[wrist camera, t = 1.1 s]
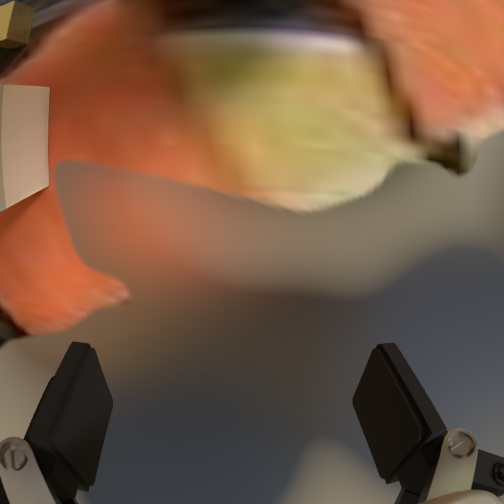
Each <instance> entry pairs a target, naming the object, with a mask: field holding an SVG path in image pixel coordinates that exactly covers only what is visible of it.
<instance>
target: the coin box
mask: <svg viewBox="0 0 504 504" xmlns="http://www.w3.org/2000/svg"><path fill="white" fill-rule="evenodd" d="M49 97H50V87H42V86H27V85H0V212H2V211H3V210H5V209H7V208H9V207H10V206H12V205H14V204H16V203H17V202H19V201H21V200H23V199H25V198H27V197H29V196H30V195H32V194H34V193H36V192H38V191H40V190H42V189H44V188H46V187H48V186H49V170H48V115H49Z"/></svg>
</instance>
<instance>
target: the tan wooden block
mask: <svg viewBox="0 0 504 504" xmlns="http://www.w3.org/2000/svg"><path fill="white" fill-rule="evenodd" d="M34 14H35V9H33V8H31V7H29V6H27V5H24V4H22V3H19V2H17V1H13V2H10V3H8V4H6V5H3V6H1V7H0V47H3V48H8V49H13V48H16V47H20V46H23V45H26V44H29V38H30V32H31V27H32V23H33V18H34Z"/></svg>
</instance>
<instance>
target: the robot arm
mask: <svg viewBox="0 0 504 504" xmlns="http://www.w3.org/2000/svg"><path fill="white" fill-rule="evenodd" d="M353 407H354V409H355V412H356V414H357V417H358V420H359V422H360V425H361V427H362V430H363V433H364V435H365V438H366V440H367V443H368V446H369V448H370V451H371V453H372V456H373V459H374V462H375V464H376V467H377V470H378V472H379V475H380V477H381V478H383V479H385V481H386V484H390V483H392V482H396V481H399V482H400V484H401V489H400V492H399V494H398V496H397V498H396V501H395V503H394V504H504V458H503V457H500V456H497V455H494V454H491V453H488V452H486V451H483V450H480V449H478V443H477V440H476V438H475V437H474V435H473V434H471V433H470V432H469V431H467V430H465V429H453V430H451V431H449V432H448V431H447V430H446V426H445V424H444V423H443V421H442V419H441V418H440V416H439V414H438V412H437V411H436V409H435V407H434V405H433V404H432V402H431V400H430V399H429V397H428V395H427V394H426V392H425V390H424V389H423V387H422V385H421V384H420V382H419V380H418V379H417V377H416V376H415V374H414V372H413V371H412V369H411V367H410V366H409V365H408V363H407V361H406V360H405V358H404V357H403V355H402V353H401V352H400V350H399V349H398V347H397V346H396V344H395V343H384V344H378V345H377V346H376V348H375V349H373V350H372V352H371V355H370V357H369V360H368V362H367V365H366V368H365V370H364V373H363V375H362V377H361V380H360V382H359V385H358V387H357V389H356V392H355V394H354V396H353ZM112 408H113V399H112V396H111V394H110V391H109V389H108V386H107V383H106V381H105V377H104V375H103V372H102V369H101V366H100V363H99V360H98V357H97V354H96V351H95V349H94V348H91V346H90V344H88V343H81V342H72V343H71V345H70V346H69V348H68V350H67V352H66V354H65V356H64V358H63V360H62V362H61V364H60V366H59V368H58V370H57V372H56V374H55V376H53V377H52V378H51V379H50V381H49V383H48V385H47V387H46V389H45V391H44V393H43V396H42V398H41V400H40V402H39V404H38V407H37V409H36V411H35V413H34V415H33V418H32V420H31V423H30V425H29V427H28V430H27V432H26V434H25V437H24V439H21V438H19V437H9V438H6V439H4V440H2V441H1V442H0V504H79V503H78V502H77V500H76V498H75V497H76V493H77V489H79V490H83V491H86V492H88V490H89V486H92V485H93V484H94V482H95V477H96V473H97V469H98V464H99V460H100V455H101V451H102V447H103V443H104V439H105V435H106V430H107V427H108V423H109V419H110V416H111V412H112Z"/></svg>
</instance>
